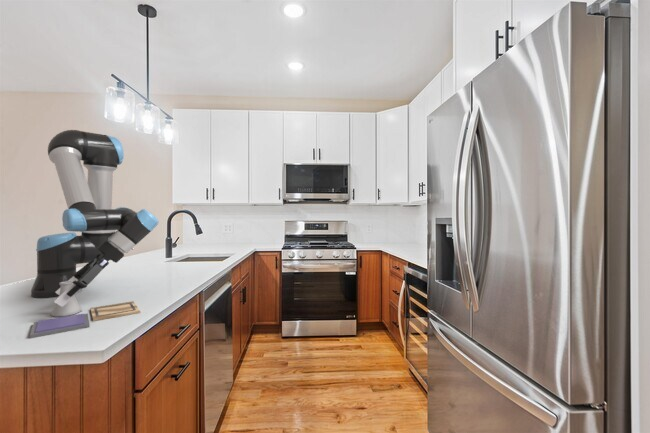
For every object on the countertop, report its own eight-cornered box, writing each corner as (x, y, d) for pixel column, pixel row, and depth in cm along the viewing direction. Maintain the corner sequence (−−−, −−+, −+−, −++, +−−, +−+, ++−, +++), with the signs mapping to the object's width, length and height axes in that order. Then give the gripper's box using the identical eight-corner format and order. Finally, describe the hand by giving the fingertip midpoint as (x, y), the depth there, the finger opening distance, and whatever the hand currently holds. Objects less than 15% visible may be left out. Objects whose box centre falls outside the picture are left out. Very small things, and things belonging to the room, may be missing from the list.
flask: (64, 318, 93) (63, 285, 93) (44, 316, 94) (44, 284, 94) (87, 310, 100) (86, 280, 100) (68, 309, 101) (68, 279, 101)
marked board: (90, 309, 101) (90, 307, 101) (133, 302, 109) (133, 300, 109) (93, 321, 90) (93, 319, 90) (140, 312, 98) (140, 310, 98)
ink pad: (34, 324, 87) (34, 320, 87) (87, 315, 95) (87, 312, 95) (29, 338, 78) (29, 333, 78) (89, 327, 86) (89, 322, 86)
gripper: (131, 258, 97) (69, 316, 88) (120, 251, 116) (69, 297, 107) (110, 242, 94) (44, 301, 84) (103, 237, 113) (48, 284, 104)
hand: (58, 299), depth 96 cm, fingers open, 13 cm apart
